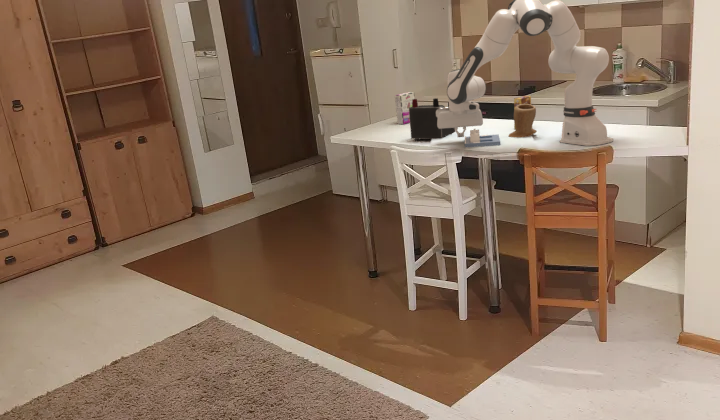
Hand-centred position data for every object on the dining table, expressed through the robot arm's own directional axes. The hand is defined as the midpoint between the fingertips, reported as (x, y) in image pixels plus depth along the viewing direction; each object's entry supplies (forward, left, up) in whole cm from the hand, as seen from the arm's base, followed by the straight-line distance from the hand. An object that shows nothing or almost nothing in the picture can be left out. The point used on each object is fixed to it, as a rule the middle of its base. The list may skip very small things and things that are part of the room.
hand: (460, 136), depth 296 cm
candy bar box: (+78, -11, -4) cm, 79 cm away
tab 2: (-10, -1, -2) cm, 10 cm away
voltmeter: (+26, 0, -4) cm, 26 cm away
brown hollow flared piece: (-7, -29, -4) cm, 30 cm away
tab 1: (-3, -5, -2) cm, 7 cm away
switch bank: (-8, -6, -4) cm, 11 cm away
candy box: (+11, -41, -4) cm, 42 cm away
